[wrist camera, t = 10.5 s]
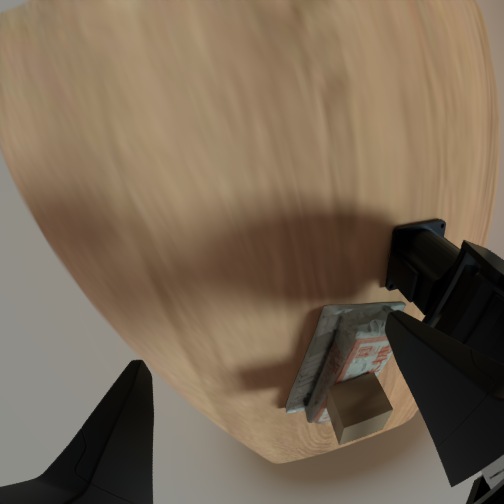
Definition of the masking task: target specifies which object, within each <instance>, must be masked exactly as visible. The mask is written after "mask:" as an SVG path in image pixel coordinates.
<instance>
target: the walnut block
mask: <svg viewBox="0 0 504 504" xmlns="http://www.w3.org/2000/svg"><path fill="white" fill-rule="evenodd" d="M392 411H393V408H392V406H391V404H390V402H389V400H388V398H387V396H386V394H385V392H384V390H383V388H382V386H381V384H380V383H379V381H378V379H377V377H376V375H375V373H374V372H372V373H369V374H366V375H364V376H361V377H358V378H355V379H352V380H349V381H346V382H343V383H340V384H336V385H333V386H330V387H328V398H327V412H328V414H329V417H330V420H331V423H332V426H333V429H334V431H335V434H336V437H337V440H338V443H339V445H341V444H345V443H347V442H350V441H353V440H356V439H359V438H362V437H364V436H367V435H370V434H372V433H375V432H377V431H380V430H382V429H383V428H384V426H385V424H386V422H387V420H388V418H389V417H390V415H391V413H392Z"/></svg>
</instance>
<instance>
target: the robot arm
mask: <svg viewBox="0 0 504 504" xmlns="http://www.w3.org/2000/svg"><path fill="white" fill-rule="evenodd" d="M445 227H446V222H445V221H443V220H441V219H440V220H435V221H429V222H423V223H418V224H412V225H406V226H401V227H396V228H395V229H394V230H393V234H392V243H391V251H390V256H389V263H388V270H387V278H386V284H385V287H386V288H387V290H389V291H391V290H395V289H398V290H399V291H400V292H401V293H402V294H403V295H404V297H405V298H406V299H407V300H408V301H409V302H413V303H414V304H415V305H416V306H417V307H418V308H419V310H420V311H421V312H422V313H423V314H424V315H426V316H425V317H424V319H423V320H422V322H421V321H419V320H418V319H416V318H414V317H412V316H410V315H408V314H406V313H404V312H402V311H401V310H394V311H391V312H389V313H388V316H387V320H386V324H385V334H386V337H387V339H388V342H389V344H390V347H391V349H392V352H393V354H394V357H395V360H396V362H397V365H398V367H399V369H400V371H401V373H402V375H403V377H404V379H405V381H406V383H407V385H408V387H409V389H410V391H411V393H412V395H413V397H414V399H415V401H416V404H417V406H418V408H419V410H420V412H421V414H422V416H423V419H424V421H425V423H426V425H427V428H428V430H429V432H430V435H431V437H432V439H433V442H434V444H435V447H436V449H437V452H438V454H439V457H440V459H441V462H442V464H443V467H444V469H445V472H446V475H447V477H448V480H449V483H450V485H451V487H453V486H455V485H457V484H459V483H461V482H462V481H464V480H466V479H468V478H469V477H471V476H473V475H474V474H476V473H477V472H479V471H481V472H482V475H481V476H480V477H479V478H477V479H476V480H475V481H474V483H473V486H472V489H471V492H470V494H469V497H468V500H467V502H466V504H504V260H503V259H501V258H500V257H499V256H497V255H496V254H494V253H493V252H491V251H490V250H488V249H487V248H484V247H481V246H479V245H476V244H474V243H471V242H468V241H466V240H463V242H462V245H461V249H459V248H458V247H457V246H455V245H454V244H453V243H451V242H450V241H448V240H447V239H446V238H444V233H445ZM398 232H399V234H398ZM397 234H398V235H397ZM153 426H154V405H153V385H152V376H151V373H150V371H149V369H148V368H147V366H146V364H145V363H144V361H143V360H133V361H131V362H130V363H129V364H128V366H127V367H126V368H125V370H124V371H123V372H122V373H121V375H120V376H119V377H118V379H117V380H116V381H115V383H114V384H113V385H112V387H111V388H110V390H109V391H108V392H107V393H106V395H105V396H104V397H103V399H102V400H101V402H100V403H99V404H98V405H97V407H96V408H95V409H94V411H93V412H92V413H91V415H90V416H89V418H88V419H87V420H86V422H85V423H84V424H83V426H82V429H80V430H79V431H78V433H77V434H76V435H75V437H74V438H73V439H72V441H71V442H70V443H69V445H68V446H67V447H66V448H65V449H64V450H63V452H62V453H61V454H60V455H59V456H58V457H57V459H56V460H55V461H54V462H53V463H52V464H51V465H50V466H49V467H48V469H47V470H46V471H45V472H44V473H43V474H41V475H40V476H39V477H37V478H35V479H32V480H28V481H24V482H20V483H16V484H12V485H7V486H3V487H0V504H153V484H152V483H153V482H152V481H153V479H152V477H153V476H152V467H153V466H152V464H153V463H152V462H153Z"/></svg>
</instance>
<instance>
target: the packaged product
mask: <svg viewBox="0 0 504 504" xmlns="http://www.w3.org/2000/svg"><path fill="white" fill-rule="evenodd" d="M405 306H406V304H405V303H404V302H384V303H368V304H345V305H326V306H325V307H323V309H322V312H321V315H320V318H319V321H318V324H317V328H316V331H315V333H314V335H313V338H312V340H311V343H310V345H309V347H308V350H307V352H306V355H305V358H304V360H303V363H302V365H301V367H300V370H299V372H298V374H297V377H296V380H295V382H294V385H293V387H292V389H291V392H290V395H289V397H288V400H287V403H286V413H294V412H298V411H305V412H306V417H307V421H308V422H309V423H317V424H325V423H328V422H330V421H331V420H330V417H329V414H328V412H327V398H328V387H330V386H333V385H336V384H340V383H343V382H346V381H349V380H352V379H355V378H358V377H361V376H364V375H366V374H369V373H372V372H374V373H375V375H376V377H377V376H378V374H379V373H380V372H381V370H382V368H383V367H384V365H385V364H386V362H387V361H388V359H389V357H390V356H391V354H392V349H391V347H390V344H389V342H388V339H387V337H386V334H385V324H386V320H387V316H388V313H389V312H391V311H394V310H401V311H402V312H403V310H404V308H405Z"/></svg>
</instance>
